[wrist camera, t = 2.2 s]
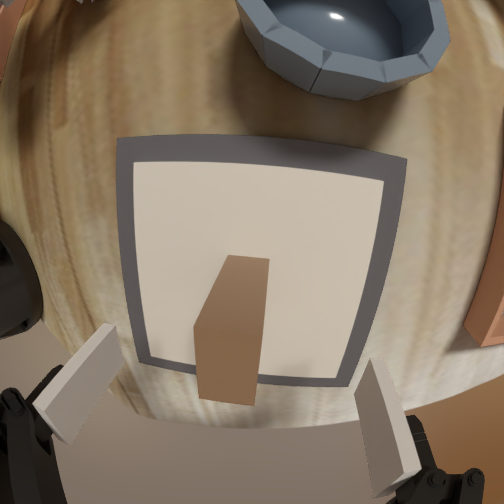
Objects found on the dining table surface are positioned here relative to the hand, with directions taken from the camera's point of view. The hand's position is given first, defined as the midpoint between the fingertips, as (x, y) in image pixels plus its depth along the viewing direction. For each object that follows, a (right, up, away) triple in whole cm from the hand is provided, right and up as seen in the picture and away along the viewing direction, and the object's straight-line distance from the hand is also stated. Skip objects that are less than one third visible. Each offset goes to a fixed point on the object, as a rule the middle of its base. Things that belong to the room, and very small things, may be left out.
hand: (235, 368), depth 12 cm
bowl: (+7, +23, +2) cm, 24 cm away
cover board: (0, +3, +9) cm, 9 cm away
